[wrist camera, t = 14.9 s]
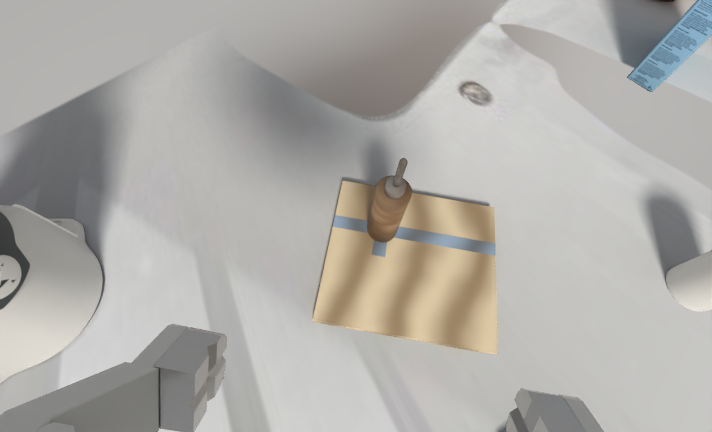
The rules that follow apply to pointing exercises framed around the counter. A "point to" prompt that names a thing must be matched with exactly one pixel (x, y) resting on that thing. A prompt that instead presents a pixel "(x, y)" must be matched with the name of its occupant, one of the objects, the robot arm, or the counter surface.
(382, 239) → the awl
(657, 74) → the gum box
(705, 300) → the white cup
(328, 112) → the counter surface
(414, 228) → the plywood panel
